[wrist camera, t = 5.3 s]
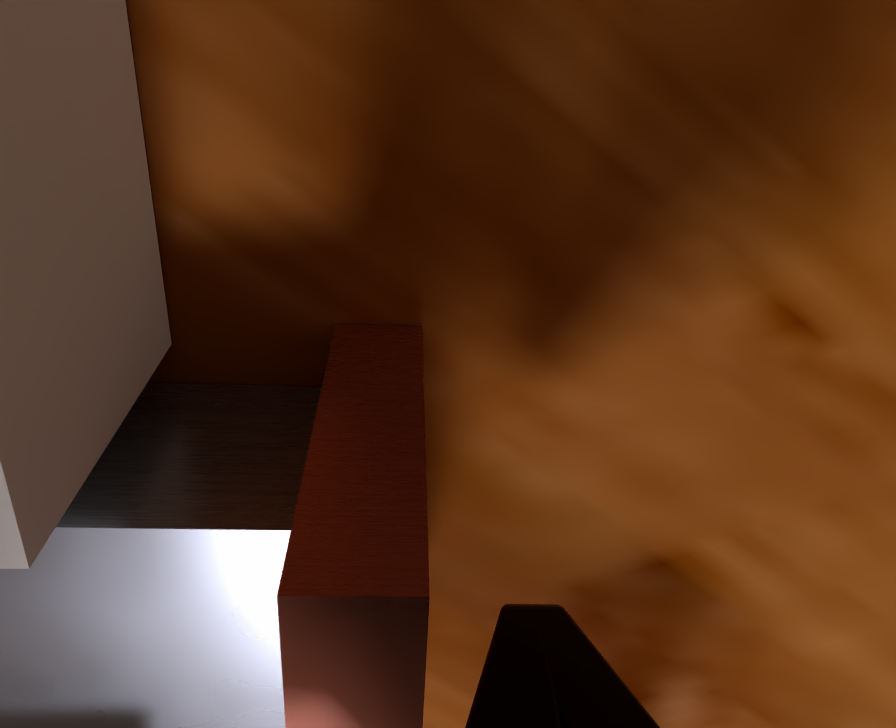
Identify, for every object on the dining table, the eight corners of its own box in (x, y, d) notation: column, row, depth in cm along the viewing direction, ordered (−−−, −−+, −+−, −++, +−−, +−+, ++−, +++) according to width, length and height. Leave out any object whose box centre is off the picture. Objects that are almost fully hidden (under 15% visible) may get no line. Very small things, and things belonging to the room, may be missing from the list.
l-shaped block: (421, 326, 11) (429, 598, 6) (410, 604, 13) (409, 951, 8) (-274, 305, 10) (-845, 585, 6) (-155, 600, 13) (-485, 968, 8)
